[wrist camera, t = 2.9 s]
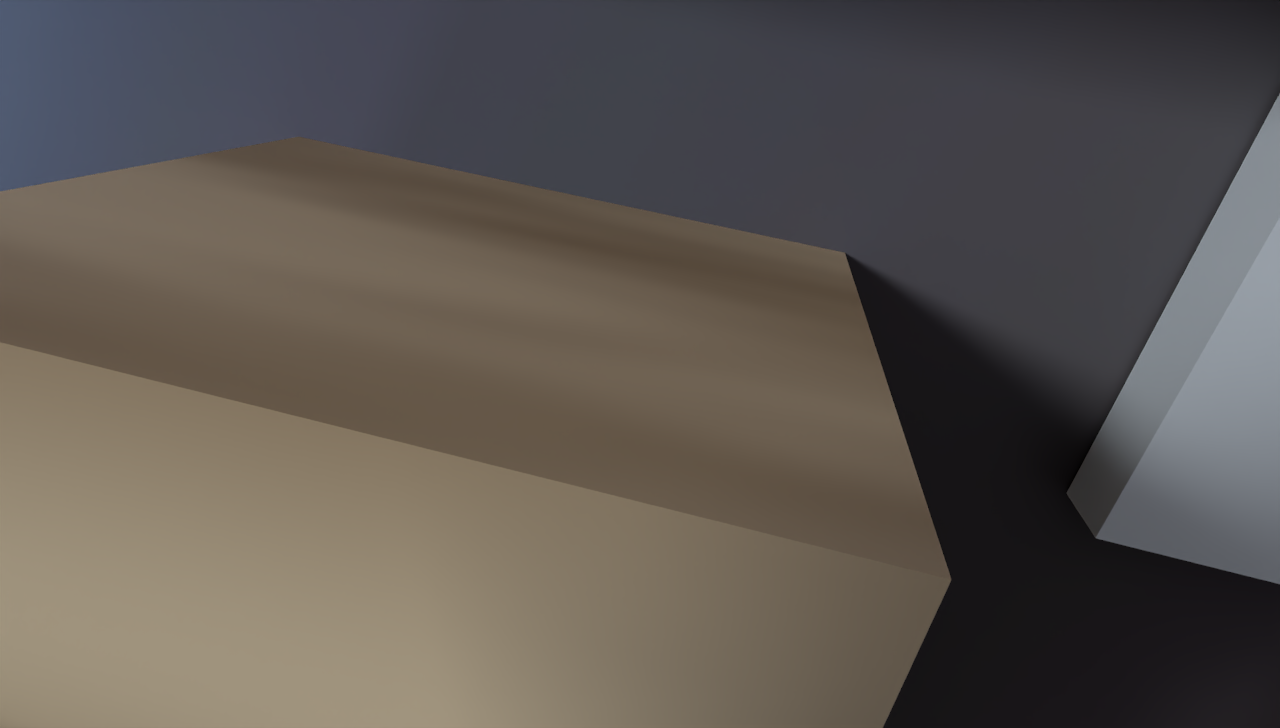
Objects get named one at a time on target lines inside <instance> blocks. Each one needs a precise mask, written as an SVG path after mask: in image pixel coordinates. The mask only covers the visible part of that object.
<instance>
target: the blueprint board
mask: <svg viewBox="0 0 1280 728" xmlns="http://www.w3.org/2000/svg"><path fill="white" fill-rule="evenodd" d="M1066 494H1067V495H1068V497H1069V498H1070V500H1071V501H1072V503H1073V504H1074V506H1075V507H1076V509H1077V510H1078V512H1079V514H1080V515H1081V517H1082V518H1083V520H1084V521H1085V523H1086V524H1087V526H1088V527H1089V529H1090V531H1091V532H1092V534H1093V535H1094V537H1095V538H1097V539H1101V540H1105V541H1109V542H1113V543H1117V544H1121V545H1125V546H1129V547H1133V548H1137V549H1141V550H1145V551H1149V552H1153V553H1157V554H1161V555H1165V556H1169V557H1173V558H1177V559H1181V560H1185V561H1189V562H1193V563H1197V564H1201V565H1205V566H1209V567H1213V568H1217V569H1221V570H1225V571H1229V572H1233V573H1237V574H1241V575H1245V576H1249V577H1253V578H1257V579H1261V580H1265V581H1269V582H1273V583H1277V584H1280V94H1279V96H1278V97H1277V99H1276V101H1275V103H1274V105H1273V107H1272V109H1271V111H1270V112H1269V114H1268V116H1267V118H1266V120H1265V122H1264V124H1263V126H1262V127H1261V129H1260V131H1259V133H1258V135H1257V137H1256V139H1255V141H1254V142H1253V144H1252V146H1251V148H1250V150H1249V152H1248V154H1247V156H1246V157H1245V159H1244V161H1243V163H1242V165H1241V167H1240V169H1239V171H1238V172H1237V174H1236V176H1235V178H1234V180H1233V182H1232V184H1231V186H1230V187H1229V189H1228V191H1227V193H1226V195H1225V197H1224V199H1223V201H1222V202H1221V204H1220V206H1219V208H1218V210H1217V212H1216V214H1215V216H1214V217H1213V219H1212V221H1211V223H1210V225H1209V227H1208V229H1207V231H1206V232H1205V234H1204V236H1203V238H1202V240H1201V242H1200V244H1199V246H1198V247H1197V249H1196V251H1195V253H1194V255H1193V257H1192V259H1191V261H1190V262H1189V264H1188V266H1187V268H1186V270H1185V272H1184V274H1183V276H1182V277H1181V279H1180V281H1179V283H1178V285H1177V287H1176V289H1175V291H1174V292H1173V294H1172V296H1171V298H1170V300H1169V302H1168V304H1167V306H1166V307H1165V309H1164V311H1163V313H1162V315H1161V317H1160V319H1159V321H1158V322H1157V324H1156V326H1155V328H1154V330H1153V332H1152V334H1151V336H1150V337H1149V339H1148V341H1147V343H1146V345H1145V347H1144V349H1143V351H1142V352H1141V354H1140V356H1139V358H1138V360H1137V362H1136V364H1135V366H1134V367H1133V369H1132V371H1131V373H1130V375H1129V377H1128V379H1127V381H1126V382H1125V384H1124V386H1123V388H1122V390H1121V392H1120V394H1119V396H1118V397H1117V399H1116V401H1115V403H1114V405H1113V407H1112V409H1111V411H1110V412H1109V414H1108V416H1107V418H1106V420H1105V422H1104V424H1103V426H1102V427H1101V429H1100V431H1099V433H1098V435H1097V437H1096V439H1095V441H1094V442H1093V444H1092V446H1091V448H1090V450H1089V452H1088V454H1087V456H1086V457H1085V459H1084V461H1083V463H1082V465H1081V467H1080V469H1079V471H1078V472H1077V474H1076V476H1075V478H1074V480H1073V482H1072V484H1071V486H1070V487H1069V489H1068V491H1067V493H1066Z"/></svg>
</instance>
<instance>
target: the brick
mask: <svg viewBox="0 0 1280 728" xmlns="http://www.w3.org/2000/svg"><path fill="white" fill-rule="evenodd" d="M950 582H951V577H950V574H949V570H948V567H947V564H946V561H945V558H944V555H943V552H942V549H941V546H940V543H939V540H938V537H937V534H936V531H935V528H934V525H933V522H932V518H931V515H930V512H929V509H928V506H927V503H926V500H925V497H924V494H923V491H922V488H921V485H920V482H919V479H918V476H917V473H916V469H915V466H914V463H913V460H912V457H911V454H910V451H909V448H908V445H907V442H906V439H905V436H904V433H903V430H902V427H901V424H900V420H899V417H898V414H897V411H896V408H895V405H894V402H893V399H892V396H891V393H890V390H889V387H888V384H887V381H886V378H885V375H884V371H883V368H882V365H881V362H880V359H879V356H878V353H877V350H876V347H875V344H874V341H873V338H872V335H871V332H870V329H869V326H868V322H867V319H866V316H865V313H864V310H863V307H862V304H861V301H860V298H859V295H858V292H857V289H856V286H855V283H854V280H853V277H852V273H851V270H850V267H849V264H848V261H847V258H846V255H845V253H843V252H838V251H834V250H829V249H824V248H820V247H815V246H810V245H805V244H801V243H796V242H791V241H787V240H782V239H777V238H772V237H768V236H763V235H758V234H754V233H749V232H744V231H740V230H735V229H730V228H725V227H721V226H716V225H711V224H707V223H702V222H697V221H693V220H688V219H683V218H678V217H674V216H669V215H664V214H660V213H655V212H650V211H645V210H641V209H636V208H631V207H627V206H622V205H617V204H613V203H608V202H603V201H598V200H594V199H589V198H584V197H580V196H575V195H570V194H565V193H561V192H556V191H551V190H547V189H542V188H537V187H533V186H528V185H523V184H518V183H514V182H509V181H504V180H500V179H495V178H490V177H485V176H481V175H476V174H471V173H467V172H462V171H457V170H453V169H448V168H443V167H438V166H434V165H429V164H424V163H420V162H415V161H410V160H405V159H401V158H396V157H391V156H387V155H382V154H377V153H373V152H368V151H363V150H358V149H354V148H349V147H344V146H340V145H335V144H330V143H325V142H321V141H316V140H311V139H307V138H302V137H295V138H289V139H284V140H279V141H273V142H268V143H262V144H257V145H251V146H246V147H240V148H235V149H230V150H224V151H219V152H213V153H208V154H202V155H197V156H192V157H186V158H181V159H175V160H170V161H164V162H159V163H153V164H148V165H143V166H137V167H132V168H126V169H121V170H115V171H110V172H104V173H99V174H94V175H88V176H83V177H77V178H72V179H66V180H61V181H55V182H50V183H45V184H39V185H34V186H28V187H23V188H17V189H12V190H6V191H1V192H0V728H883V726H884V724H885V722H886V720H887V718H888V716H889V713H890V711H891V709H892V707H893V705H894V703H895V700H896V698H897V696H898V694H899V692H900V690H901V688H902V685H903V683H904V681H905V679H906V677H907V675H908V672H909V670H910V668H911V666H912V664H913V662H914V660H915V657H916V655H917V653H918V651H919V649H920V647H921V644H922V642H923V640H924V638H925V636H926V634H927V632H928V629H929V627H930V625H931V623H932V621H933V619H934V616H935V614H936V612H937V610H938V608H939V606H940V604H941V601H942V599H943V597H944V595H945V593H946V591H947V588H948V586H949V584H950Z"/></svg>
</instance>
